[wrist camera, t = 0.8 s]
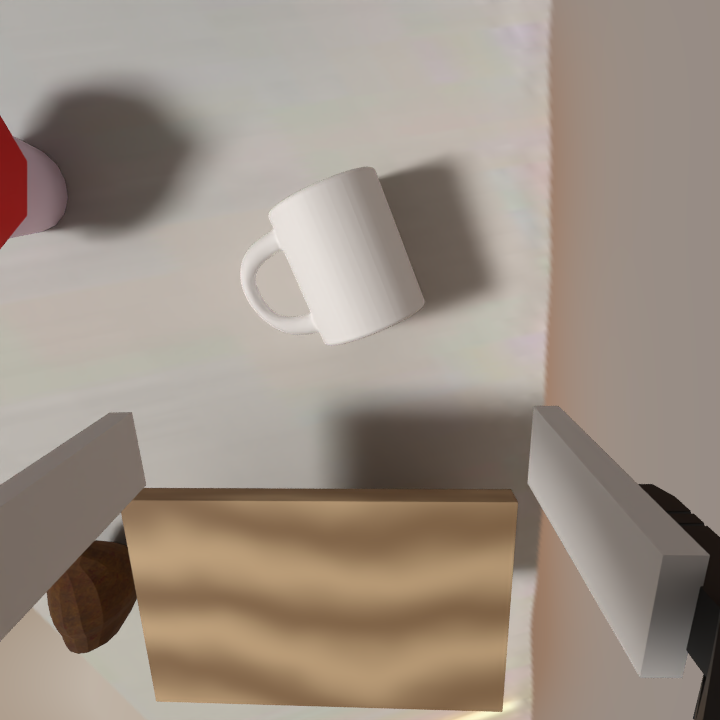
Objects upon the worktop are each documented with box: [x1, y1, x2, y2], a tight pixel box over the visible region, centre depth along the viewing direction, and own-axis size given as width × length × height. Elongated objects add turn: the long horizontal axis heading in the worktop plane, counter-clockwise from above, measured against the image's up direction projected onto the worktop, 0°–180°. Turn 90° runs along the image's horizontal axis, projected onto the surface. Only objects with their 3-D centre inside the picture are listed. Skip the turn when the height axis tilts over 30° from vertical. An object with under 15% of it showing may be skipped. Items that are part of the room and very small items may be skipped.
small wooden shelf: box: [121, 488, 518, 712], centre depth 34 cm, size 16×24×13 cm, turn 92°
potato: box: [47, 540, 137, 654], centre depth 40 cm, size 7×10×8 cm
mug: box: [240, 167, 425, 346], centre depth 31 cm, size 12×10×8 cm
